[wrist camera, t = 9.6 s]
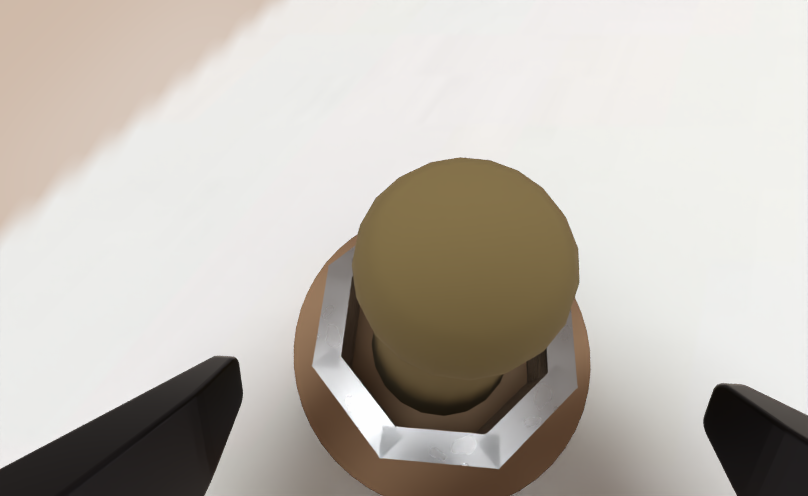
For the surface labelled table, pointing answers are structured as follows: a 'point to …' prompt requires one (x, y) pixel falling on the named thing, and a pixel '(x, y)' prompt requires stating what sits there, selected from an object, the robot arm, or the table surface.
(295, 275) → the table surface
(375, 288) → the cork
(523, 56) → the table surface
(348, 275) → the coupling socket
